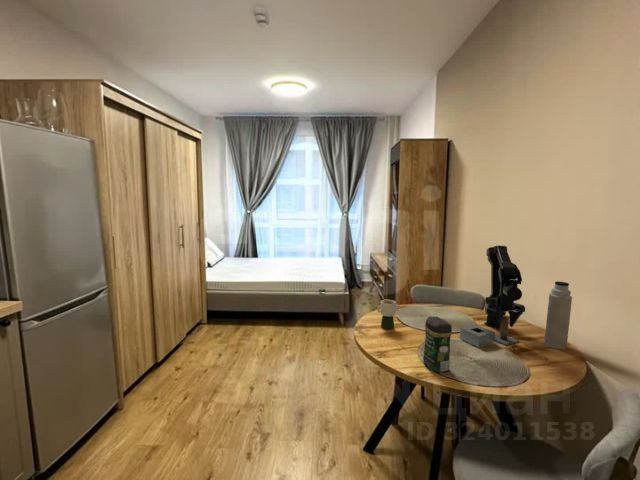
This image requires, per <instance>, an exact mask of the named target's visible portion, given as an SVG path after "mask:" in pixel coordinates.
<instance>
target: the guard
mask: <svg viewBox="0 0 640 480" xmlns="http://www.w3.org/2000/svg"><path fill="white" fill-rule="evenodd" d="M459 329H460V330H459V331H460V332H459V340H462V341H463V340H464V342H466V343H468V344H470V345H471V346H474V345H475V346H474V347H476V346H477V347H476V348H478V347H479V348H481V347H482V346H483V347H486V346H489V345H495V342H496V341H495V335H496V332H495V331H492V330H490V329H487V328H485V327H482V326H480V325H478V324H473V325H469V326H465V327H459ZM483 347H482V348H483Z"/></svg>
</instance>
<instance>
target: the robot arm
mask: <svg viewBox="0 0 640 480" xmlns="http://www.w3.org/2000/svg"><path fill="white" fill-rule="evenodd" d="M486 256H487V261H488V262H489V264H490V283H491V284H490V294H489V296H486V297H485V299H484V303H485V305H484V312H485V314H486V315H487V316H486V322H484V323H483V324H484V325H486V326H489V327H491V328H494V329H495V330H497V331H499V330H500V329H501V323H502V321H503V318H504V317H503V316H506V314H507V313H508V314H509V316H508V317H509V323H508V325H509V327H511V328H513V327H514V325H515V324H516V323H517V321H518V320H519V318H520V317H521V316H522V315H523V314H524V313H526V307H525V305H524V304H520V303H518V302H517V303H516V302H515V301H519V300H520V299H522V298H523V291H522V290H521V289H520V288H519V287H518V286H519V285H522V281H523V278H522V274H521V271H520V269H519V267H518V266H517V265H516V263H513V261H512V259H511V257H510V255H509V253H508V246H506V245H494V246H491V247H488V248H486Z"/></svg>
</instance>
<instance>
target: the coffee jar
mask: <svg viewBox="0 0 640 480" xmlns="http://www.w3.org/2000/svg"><path fill="white" fill-rule="evenodd" d="M452 330H453V329H452V324H451V323H449V322H448V321H446V319H443V318H441V317H439V316H437V315H436V316H428V317H427V318H426V320H425V324H424V331H425V332H424V333H425V337H424V338H425V339H424V350H423V360H422V362H423V364H424V365H425V366H426V367H427V368H428V369H429V370H431V372H433V373H434V372H435V373H445V372H447V371H449V370H450V362H451V361H450V360H451V359H450V352H451V350H450V349H451V336H452V333H453V331H452Z"/></svg>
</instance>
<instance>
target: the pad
mask: <svg viewBox="0 0 640 480" xmlns="http://www.w3.org/2000/svg"><path fill="white" fill-rule="evenodd" d="M495 342H496V343H498V344H501V345H503V346H506V347H507V346H510V345H514V344H517V343H520V340H519V339H516V338H514V337H511V336H508V335H507V340H502V339H500V333H497V334H495Z"/></svg>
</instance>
